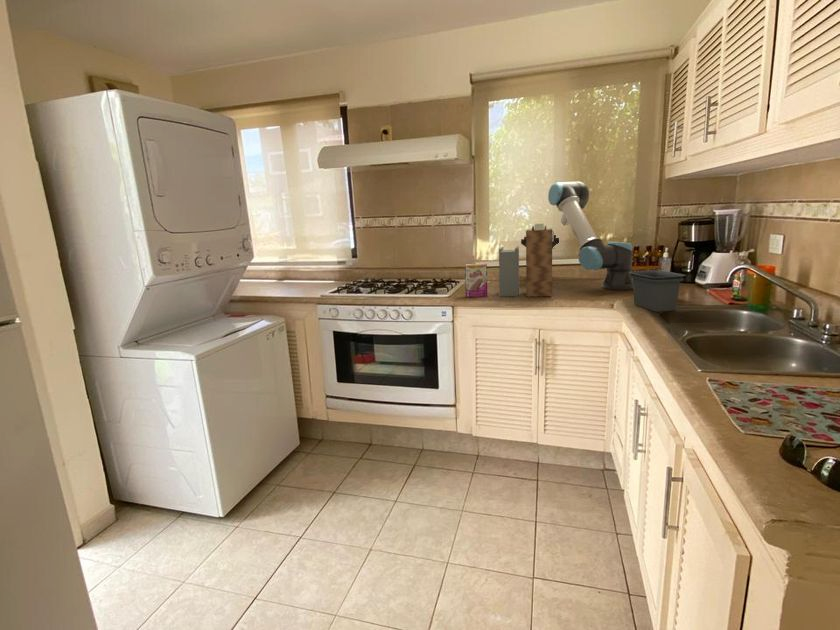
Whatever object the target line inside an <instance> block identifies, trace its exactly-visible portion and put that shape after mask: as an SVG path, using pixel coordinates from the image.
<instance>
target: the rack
mask: <svg viewBox="0 0 840 630" xmlns="http://www.w3.org/2000/svg"><path fill="white" fill-rule="evenodd" d="M498 272H499V273H498V279H499V285H498V286H499V297H519V293H520V246H516V247H515V249H504V246H501V247H499V249H498Z"/></svg>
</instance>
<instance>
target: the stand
mask: <svg viewBox="0 0 840 630" xmlns="http://www.w3.org/2000/svg"><path fill="white" fill-rule="evenodd" d="M552 231H553V228H547V225H544V230H535V225H532V226H531V228H530V229H526V230H525V237H526V247H525V261H526V262H525V267H526V268H525V275H526V278H525V280H526V281H525V282H526V283H525V284H526V285H525V287H526V288H525V289H526V297H527V296H552V297H553V249H552ZM527 298H528V297H527Z"/></svg>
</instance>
